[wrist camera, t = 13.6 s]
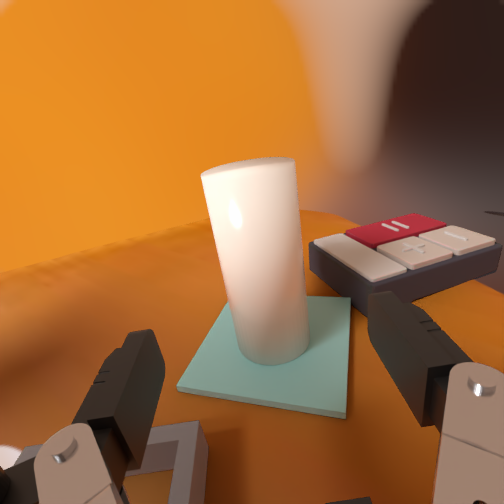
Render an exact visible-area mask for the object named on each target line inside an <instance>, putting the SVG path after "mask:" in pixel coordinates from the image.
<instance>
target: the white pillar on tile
mask: <svg viewBox="0 0 504 504" xmlns="http://www.w3.org/2000/svg"><path fill="white" fill-rule="evenodd" d="M201 179H202V184H203V188H204V192H205V197H206V202H207V206H208V211H209V215H210V220H211V225H212V229H213V234H214V238H215V243H216V247H217V252H218V256H219V261H220V265H221V270H222V274H223V279H224V284H225V288H226V293H227V297H228V302H229V306H230V311H231V315H232V320H233V324H234V329H235V334H236V338H237V343H238V347H239V350H240V352H241V353H242V355H243V356H244V357H245V358H247V359H248V360H250V361H252V362H254V363H257V364H261V365H279V364H284V363H287V362H290V361H292V360H294V359H296V358H297V357H299V356H300V355H301V354H302V353H304V351H305V350H306V349H307V347H308V345H309V342H310V329H309V318H308V306H307V295H306V283H305V272H304V261H303V249H302V238H301V226H300V215H299V204H298V192H297V181H296V170H295V160H294V159H292V158H286V157H269V158H259V159H250V160H244V161H239V162H234V163H229V164H225V165H221V166H218V167H215V168H212V169H209V170H207V171H205V172H203V173H202V174H201Z"/></svg>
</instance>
